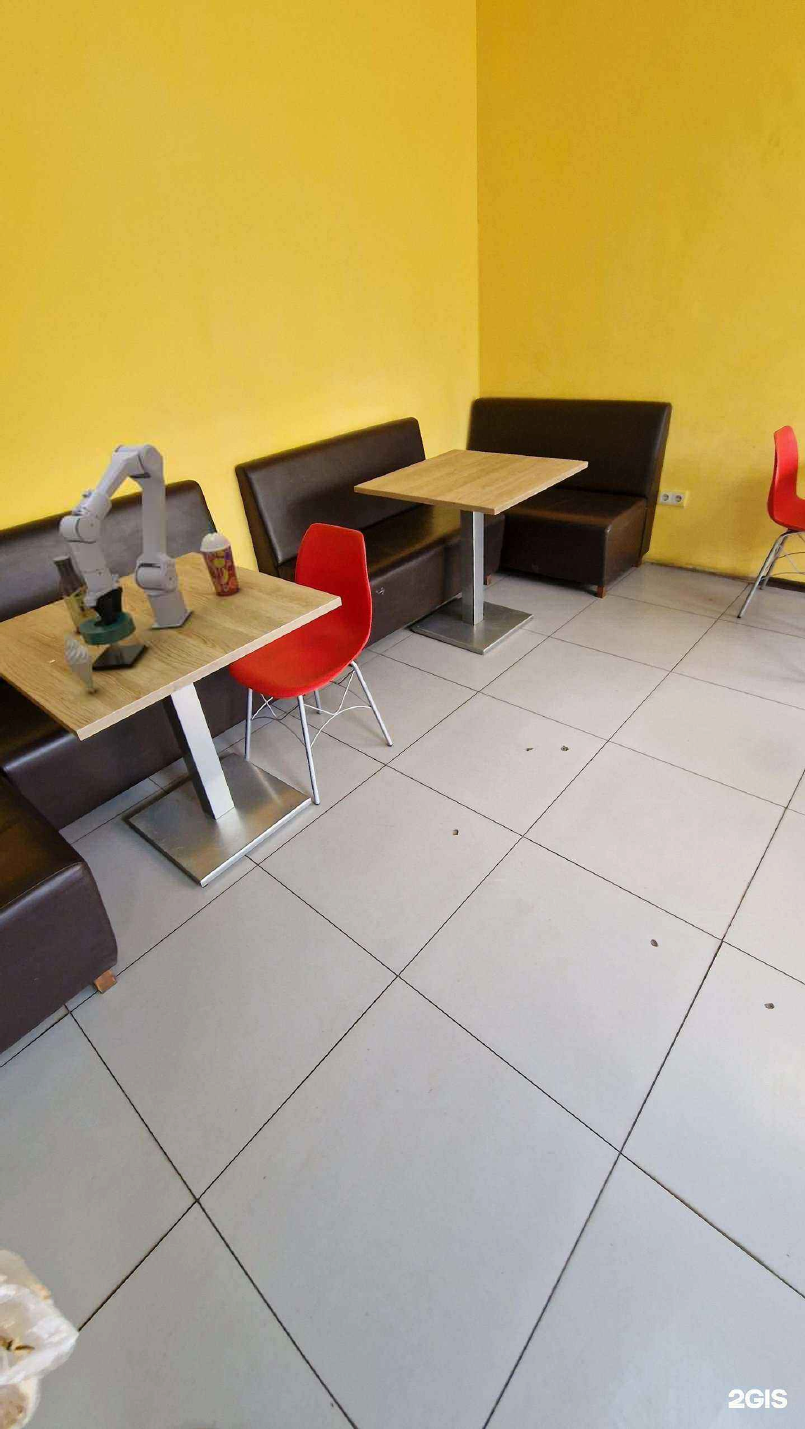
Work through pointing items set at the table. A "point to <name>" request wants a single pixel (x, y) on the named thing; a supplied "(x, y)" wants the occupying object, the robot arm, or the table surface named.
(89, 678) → the ice cream cone
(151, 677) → the table surface
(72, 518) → the robot arm
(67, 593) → the sauce bottle
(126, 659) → the peg stand
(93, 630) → the ring
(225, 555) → the smoothie
